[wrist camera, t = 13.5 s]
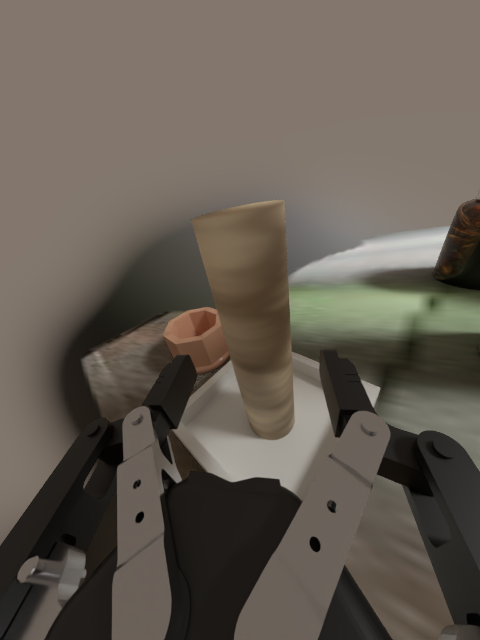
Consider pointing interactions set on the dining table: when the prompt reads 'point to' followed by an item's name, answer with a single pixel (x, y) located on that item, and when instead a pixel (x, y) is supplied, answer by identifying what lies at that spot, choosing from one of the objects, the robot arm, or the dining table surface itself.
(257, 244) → the wood rod
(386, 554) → the dining table surface
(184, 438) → the grey tray
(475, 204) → the jar
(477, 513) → the robot arm
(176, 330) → the sleeve cup
